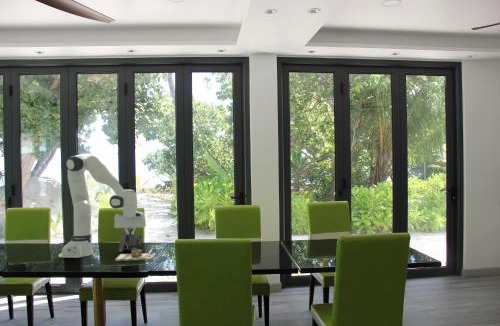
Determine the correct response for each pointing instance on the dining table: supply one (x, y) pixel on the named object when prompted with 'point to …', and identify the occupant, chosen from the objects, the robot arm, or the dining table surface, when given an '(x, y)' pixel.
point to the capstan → (136, 253)
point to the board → (128, 257)
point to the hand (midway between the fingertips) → (130, 234)
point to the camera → (129, 241)
